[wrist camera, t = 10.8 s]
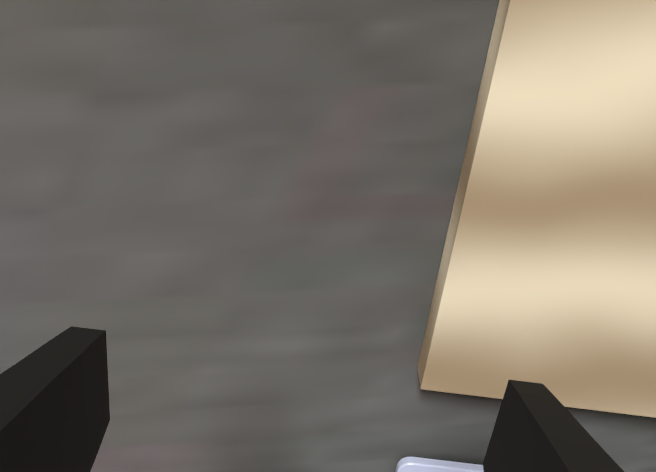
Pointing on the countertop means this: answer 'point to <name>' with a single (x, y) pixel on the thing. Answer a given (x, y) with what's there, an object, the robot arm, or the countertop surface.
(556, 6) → the board
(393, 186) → the countertop surface
